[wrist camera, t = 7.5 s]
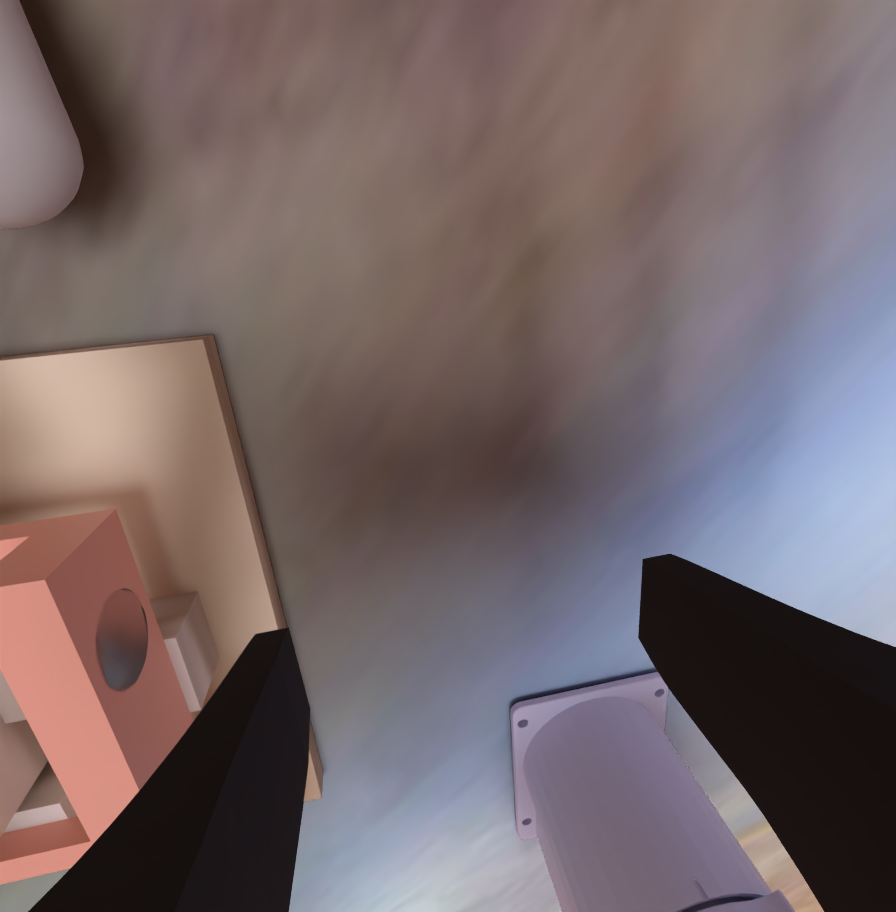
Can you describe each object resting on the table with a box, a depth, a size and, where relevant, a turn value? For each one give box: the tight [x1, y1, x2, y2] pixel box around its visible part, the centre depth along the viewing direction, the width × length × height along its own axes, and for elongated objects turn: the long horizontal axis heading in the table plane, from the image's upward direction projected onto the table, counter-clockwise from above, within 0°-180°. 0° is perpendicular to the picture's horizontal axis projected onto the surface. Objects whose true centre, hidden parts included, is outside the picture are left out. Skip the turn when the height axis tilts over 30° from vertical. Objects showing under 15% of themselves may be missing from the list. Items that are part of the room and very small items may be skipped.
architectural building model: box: [0, 335, 323, 837], centre depth 16 cm, size 16×20×5 cm
